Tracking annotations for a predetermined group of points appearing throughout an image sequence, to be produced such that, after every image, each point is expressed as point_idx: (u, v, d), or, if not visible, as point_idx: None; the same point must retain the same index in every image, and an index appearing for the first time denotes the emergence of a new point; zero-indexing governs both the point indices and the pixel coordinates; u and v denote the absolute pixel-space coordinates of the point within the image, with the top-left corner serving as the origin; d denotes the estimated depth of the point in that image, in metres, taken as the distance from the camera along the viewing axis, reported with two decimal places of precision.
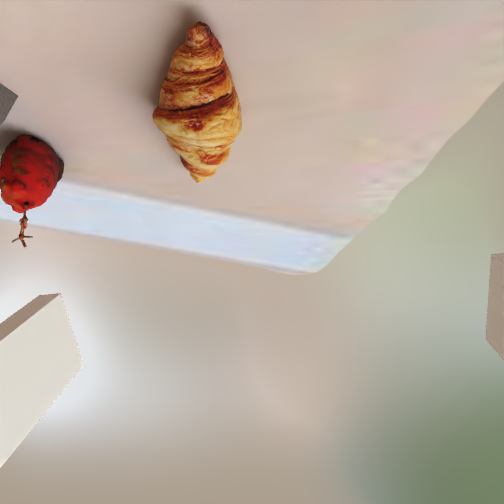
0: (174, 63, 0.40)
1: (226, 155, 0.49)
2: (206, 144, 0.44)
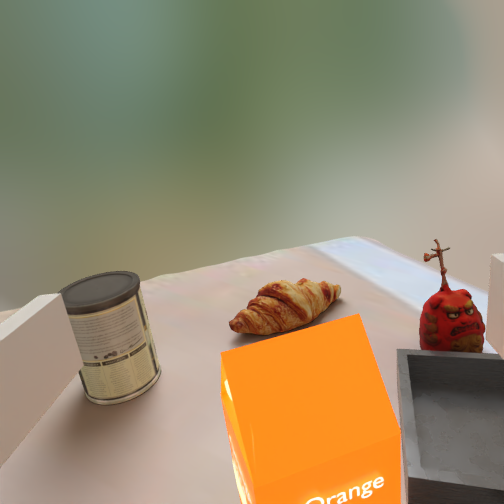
0: (261, 323, 0.58)
1: None
2: None
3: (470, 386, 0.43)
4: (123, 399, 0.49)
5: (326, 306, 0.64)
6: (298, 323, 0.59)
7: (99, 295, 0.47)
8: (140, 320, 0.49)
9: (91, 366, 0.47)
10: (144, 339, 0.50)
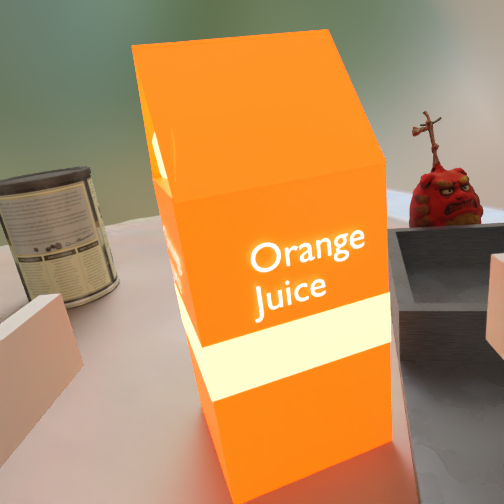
0: None
1: None
2: None
3: (468, 263, 0.37)
4: (71, 304, 0.42)
5: None
6: None
7: (40, 178, 0.41)
8: (90, 212, 0.43)
9: (31, 262, 0.41)
10: (96, 237, 0.44)
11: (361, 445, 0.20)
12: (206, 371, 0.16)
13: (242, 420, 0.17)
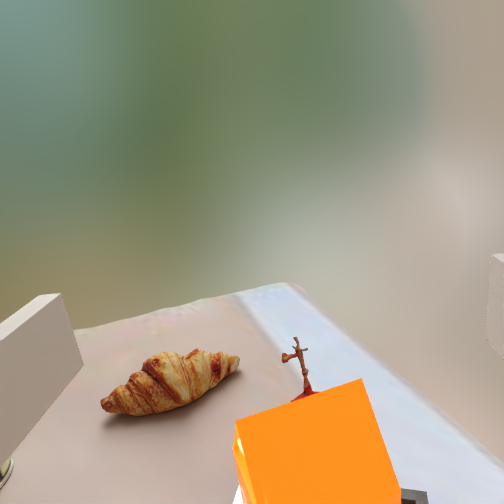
0: (132, 404, 0.54)
1: None
2: (171, 354, 0.59)
3: None
4: None
5: (215, 383, 0.59)
6: (173, 405, 0.55)
7: None
8: None
9: None
10: None
11: None
12: None
13: None
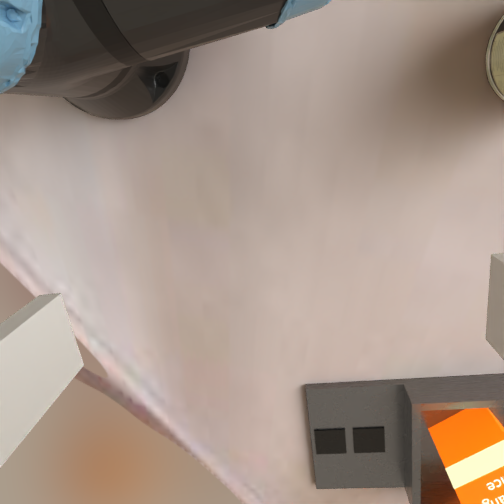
0: None
1: None
2: None
3: None
4: (495, 89, 0.37)
5: None
6: None
7: None
8: None
9: None
10: None
11: None
12: (450, 479, 0.43)
13: None
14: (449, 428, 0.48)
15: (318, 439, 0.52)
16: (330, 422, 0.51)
